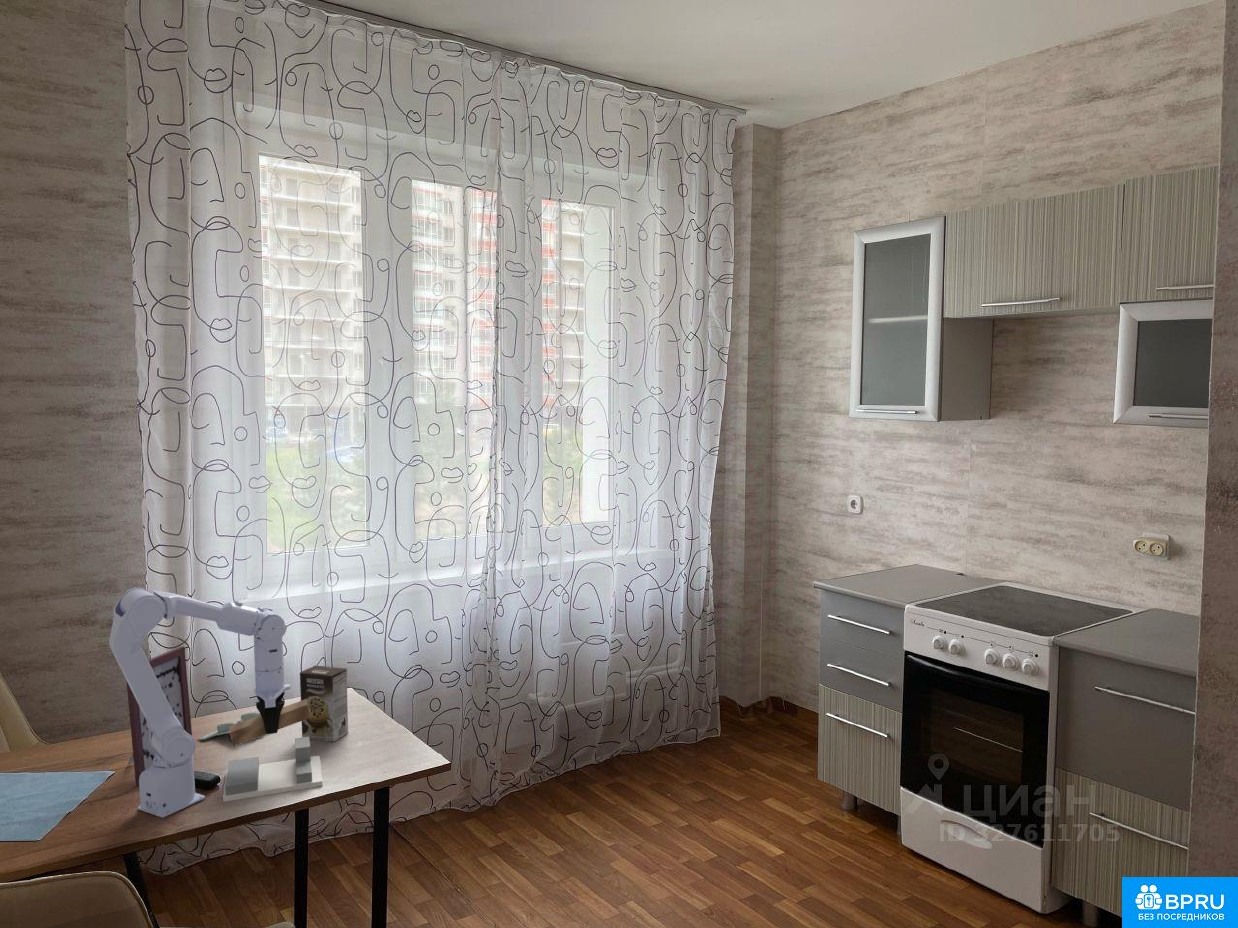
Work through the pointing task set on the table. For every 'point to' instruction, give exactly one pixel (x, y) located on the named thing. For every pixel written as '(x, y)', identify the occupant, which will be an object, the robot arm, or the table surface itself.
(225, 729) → the metal bracket
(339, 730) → the coffee box
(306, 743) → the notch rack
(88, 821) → the table surface
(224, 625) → the robot arm
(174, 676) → the picture frame
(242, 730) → the walnut bar
